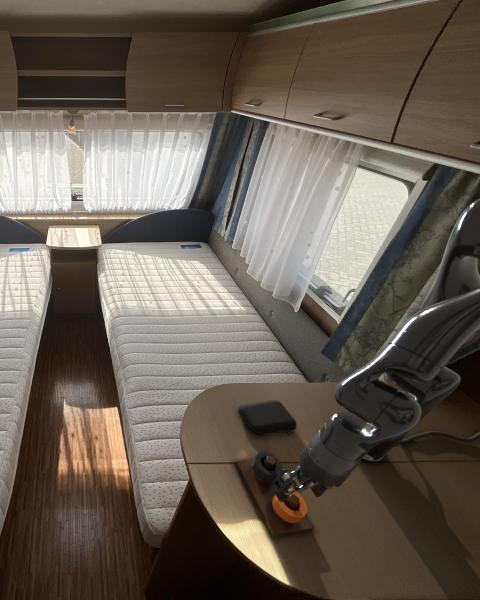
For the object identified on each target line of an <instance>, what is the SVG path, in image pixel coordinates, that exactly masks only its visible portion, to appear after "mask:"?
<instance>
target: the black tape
mask: <svg viewBox="0 0 480 600" xmlns="http://www.w3.org/2000/svg"><path fill="white" fill-rule="evenodd" d="M268 456H271V457H273V458H274V459H275V464H274V465H273V467H272V468H271V469H272V471H269V470H267V469H265V468H264V467H263V466H262V464H261V463H262V462H263V463H264V461H265V459H266V458H267V457H268ZM252 459H253V461H252V470H253V471H254V473H255V474H256V476H258V477H259V478H260V479H261V480H263V481H266V482H273V481H274V479H275V478H276V477H277V476H278V475H279V473H280V472H281V471H282V470H283V469H284V468H283V465H282V463H281V461H280V459H279V458H278V457H277V456H275V455H274V454H272V453H270V452H267V451H259V452H258V453H256V454H255V455H254V457H253V458H252Z"/></svg>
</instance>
